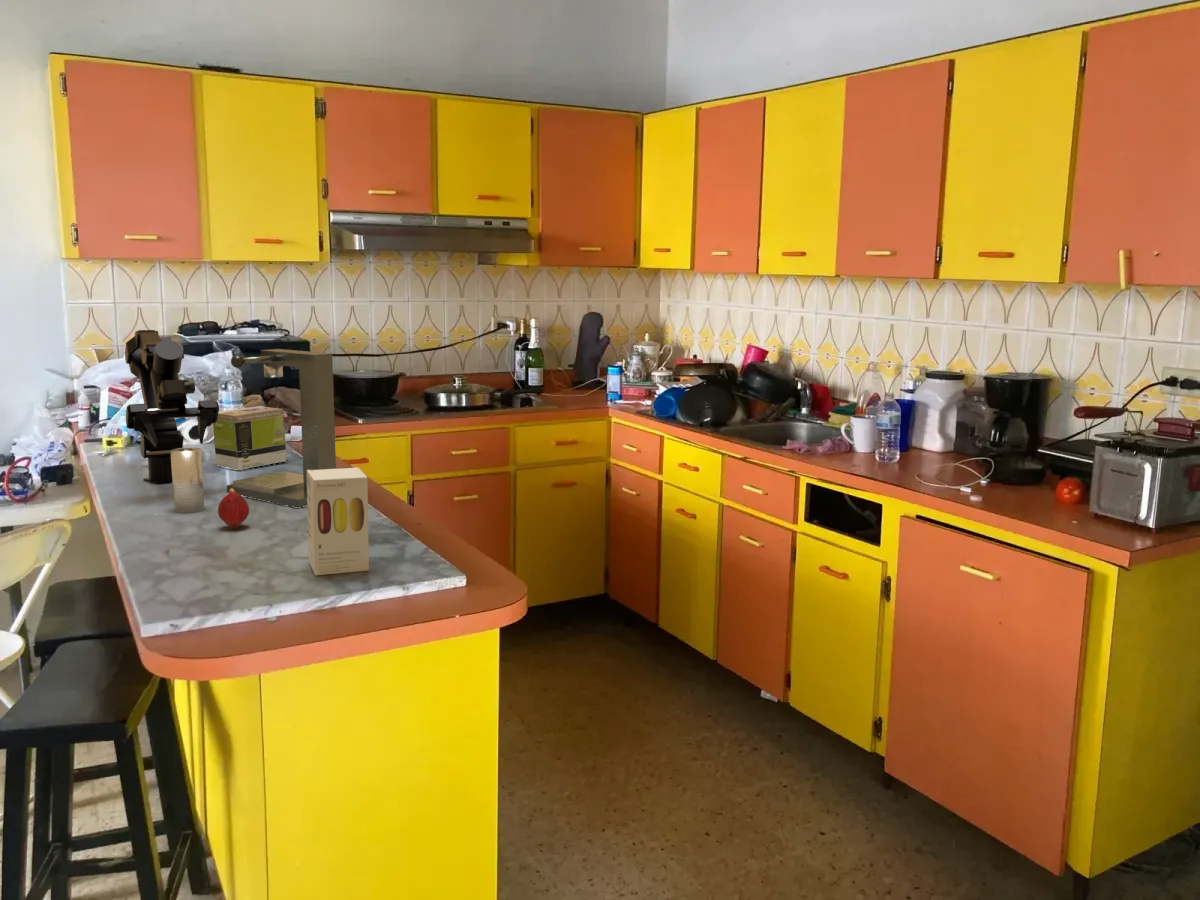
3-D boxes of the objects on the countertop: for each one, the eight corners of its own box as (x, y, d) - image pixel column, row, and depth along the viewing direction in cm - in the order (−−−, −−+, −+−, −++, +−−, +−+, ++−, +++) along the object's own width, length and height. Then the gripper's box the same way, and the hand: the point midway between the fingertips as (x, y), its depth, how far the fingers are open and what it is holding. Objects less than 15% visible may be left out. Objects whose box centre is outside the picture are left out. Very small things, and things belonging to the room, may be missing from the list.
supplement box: (314, 576, 167) (310, 479, 164) (307, 561, 175) (303, 469, 172) (371, 570, 170) (368, 475, 167) (361, 556, 179) (359, 465, 176)
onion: (256, 526, 198) (254, 487, 196) (234, 533, 193) (232, 493, 191) (234, 522, 200) (232, 484, 199) (212, 529, 195) (210, 490, 194)
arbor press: (204, 498, 220) (196, 351, 214) (283, 481, 238) (277, 345, 232) (278, 514, 207) (271, 358, 201) (355, 495, 226) (350, 352, 220)
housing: (168, 510, 209) (164, 449, 207) (193, 505, 214) (189, 445, 212) (186, 514, 206) (182, 452, 204) (210, 508, 211) (207, 448, 209)
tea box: (264, 458, 267) (261, 404, 264) (287, 463, 261) (285, 408, 258) (214, 467, 255) (211, 410, 252) (237, 472, 249) (234, 414, 246)
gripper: (123, 367, 210) (134, 425, 203) (215, 364, 220) (228, 419, 213) (121, 399, 218) (131, 456, 211) (209, 395, 228) (222, 449, 221)
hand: (179, 444), depth 214 cm, fingers open, 9 cm apart
